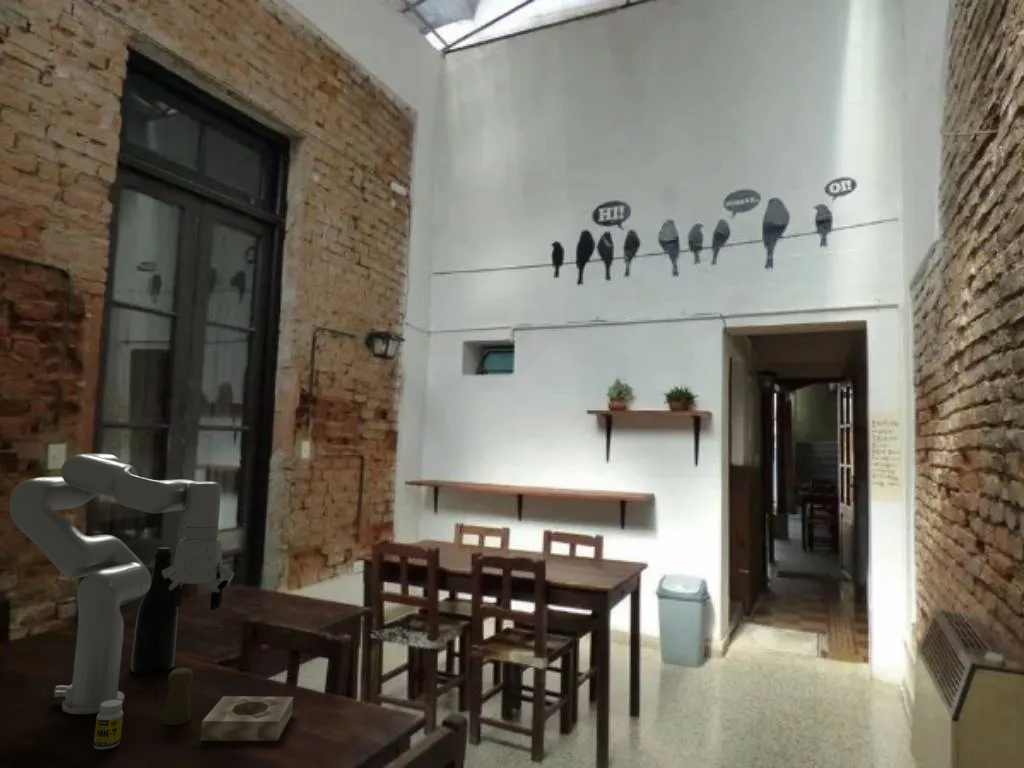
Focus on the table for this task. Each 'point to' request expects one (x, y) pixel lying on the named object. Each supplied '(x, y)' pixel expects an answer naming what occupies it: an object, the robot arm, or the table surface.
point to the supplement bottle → (108, 725)
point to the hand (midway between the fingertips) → (195, 607)
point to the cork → (178, 697)
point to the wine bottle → (155, 623)
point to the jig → (247, 719)
